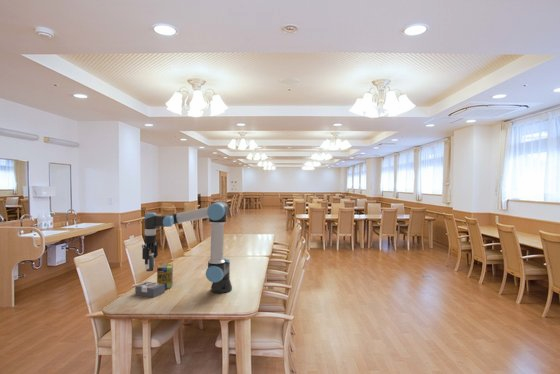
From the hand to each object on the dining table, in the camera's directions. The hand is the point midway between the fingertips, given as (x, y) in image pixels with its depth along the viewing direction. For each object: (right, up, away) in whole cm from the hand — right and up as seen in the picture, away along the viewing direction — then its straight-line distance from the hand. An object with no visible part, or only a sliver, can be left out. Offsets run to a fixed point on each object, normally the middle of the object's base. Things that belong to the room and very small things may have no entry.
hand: (150, 267), depth 230 cm
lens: (0, -2, 0) cm, 2 cm away
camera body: (0, -18, 0) cm, 18 cm away
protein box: (+4, -19, +19) cm, 27 cm away
